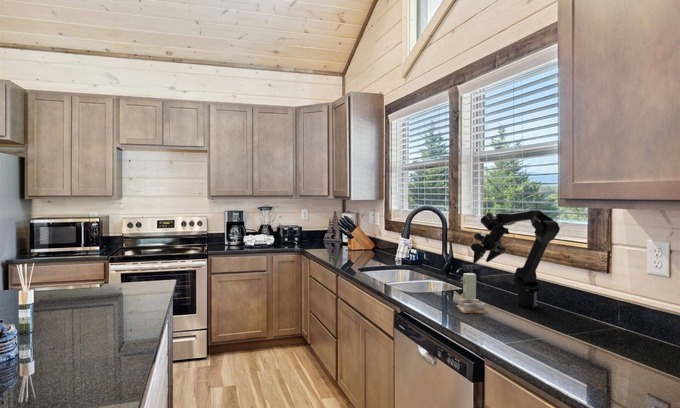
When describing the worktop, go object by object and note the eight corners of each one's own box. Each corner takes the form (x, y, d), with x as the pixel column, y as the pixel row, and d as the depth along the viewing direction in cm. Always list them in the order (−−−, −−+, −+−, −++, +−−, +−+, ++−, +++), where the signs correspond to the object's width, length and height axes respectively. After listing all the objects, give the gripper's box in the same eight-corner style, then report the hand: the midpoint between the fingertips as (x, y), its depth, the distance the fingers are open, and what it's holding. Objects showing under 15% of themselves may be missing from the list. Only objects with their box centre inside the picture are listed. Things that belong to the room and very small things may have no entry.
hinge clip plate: (480, 306, 182) (480, 299, 182) (487, 312, 173) (488, 304, 173) (456, 306, 182) (456, 299, 182) (462, 312, 173) (463, 304, 173)
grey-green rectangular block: (473, 301, 192) (473, 273, 192) (475, 303, 188) (476, 274, 188) (461, 301, 192) (461, 273, 191) (464, 303, 188) (464, 274, 188)
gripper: (496, 225, 213) (482, 251, 221) (470, 226, 203) (456, 252, 211) (512, 239, 206) (497, 265, 213) (486, 241, 196) (471, 267, 203)
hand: (480, 262), depth 210 cm, fingers open, 9 cm apart
